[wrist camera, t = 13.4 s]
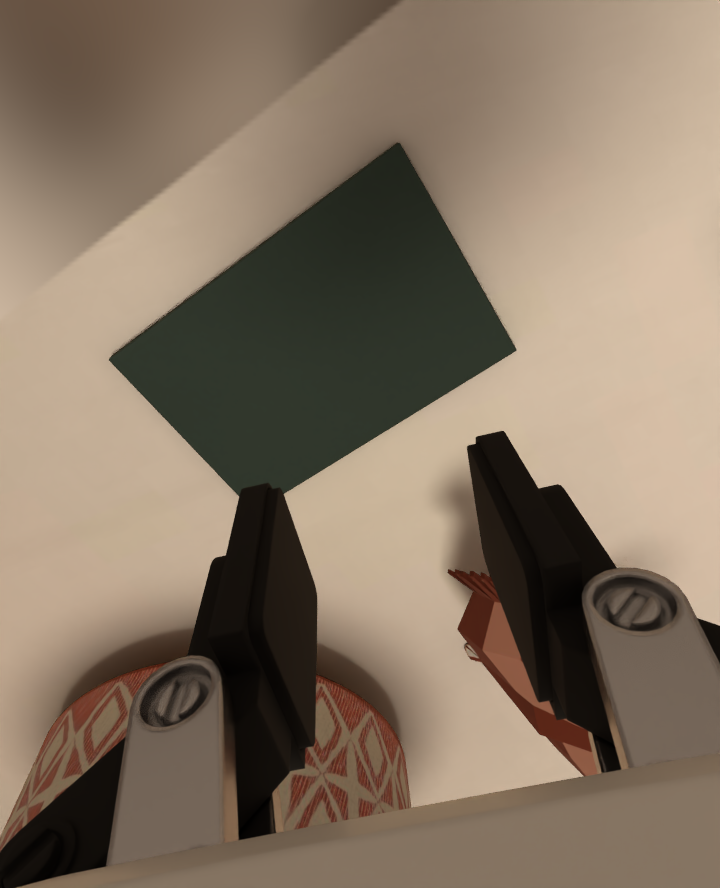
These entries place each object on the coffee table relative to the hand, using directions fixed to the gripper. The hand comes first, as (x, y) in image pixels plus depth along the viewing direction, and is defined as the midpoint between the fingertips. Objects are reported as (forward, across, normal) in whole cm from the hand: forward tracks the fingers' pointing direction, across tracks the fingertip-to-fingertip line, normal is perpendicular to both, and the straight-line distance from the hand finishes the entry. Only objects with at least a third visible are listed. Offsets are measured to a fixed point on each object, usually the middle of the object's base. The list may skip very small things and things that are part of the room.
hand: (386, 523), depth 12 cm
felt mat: (+20, +2, +3) cm, 21 cm away
